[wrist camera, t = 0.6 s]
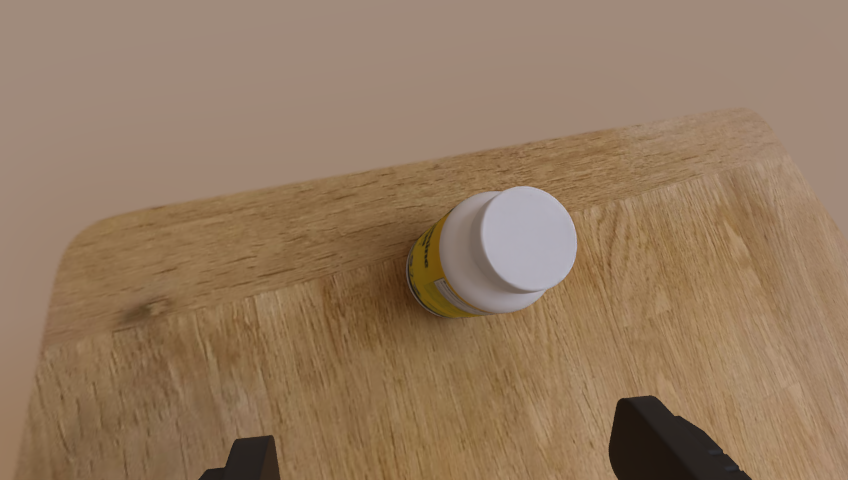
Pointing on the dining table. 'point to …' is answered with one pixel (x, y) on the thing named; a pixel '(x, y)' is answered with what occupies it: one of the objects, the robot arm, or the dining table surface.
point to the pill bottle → (492, 254)
